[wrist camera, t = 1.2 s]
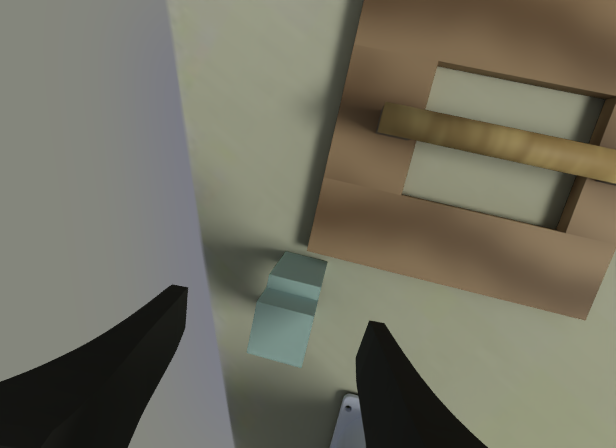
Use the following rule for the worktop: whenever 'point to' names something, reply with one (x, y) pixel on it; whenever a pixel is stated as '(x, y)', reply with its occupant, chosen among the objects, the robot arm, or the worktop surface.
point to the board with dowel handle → (473, 148)
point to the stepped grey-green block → (287, 309)
